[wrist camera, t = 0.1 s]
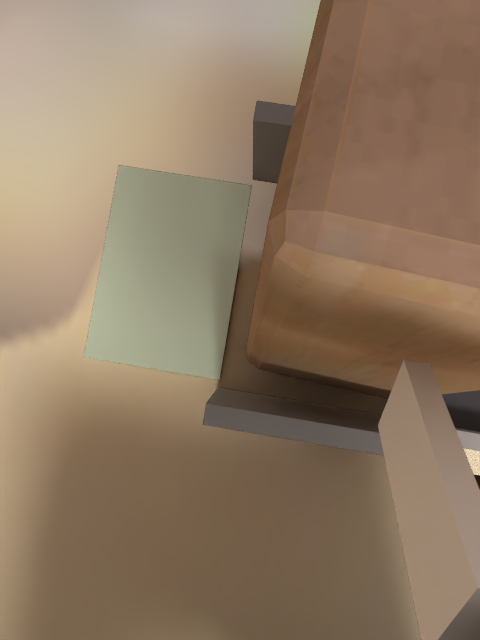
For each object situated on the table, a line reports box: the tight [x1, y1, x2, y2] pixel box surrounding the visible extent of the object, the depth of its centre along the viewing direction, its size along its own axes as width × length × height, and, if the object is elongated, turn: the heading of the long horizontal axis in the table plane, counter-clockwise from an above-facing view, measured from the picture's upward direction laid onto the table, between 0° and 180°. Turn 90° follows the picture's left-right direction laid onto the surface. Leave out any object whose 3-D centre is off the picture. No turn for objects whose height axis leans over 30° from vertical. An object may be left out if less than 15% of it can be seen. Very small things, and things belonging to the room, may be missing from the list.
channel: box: [203, 101, 384, 456], centre depth 26 cm, size 16×12×8 cm
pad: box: [84, 165, 252, 380], centre depth 30 cm, size 13×9×1 cm
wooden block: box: [246, 0, 480, 399], centre depth 19 cm, size 10×10×20 cm
